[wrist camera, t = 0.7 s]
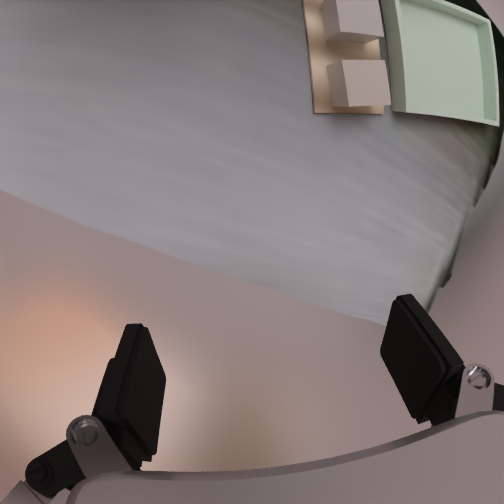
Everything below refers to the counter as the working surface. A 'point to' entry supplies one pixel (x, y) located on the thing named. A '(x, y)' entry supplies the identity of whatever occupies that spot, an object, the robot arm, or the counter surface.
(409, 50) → the tub
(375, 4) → the stone
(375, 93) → the stone
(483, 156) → the counter surface
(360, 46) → the birch board
